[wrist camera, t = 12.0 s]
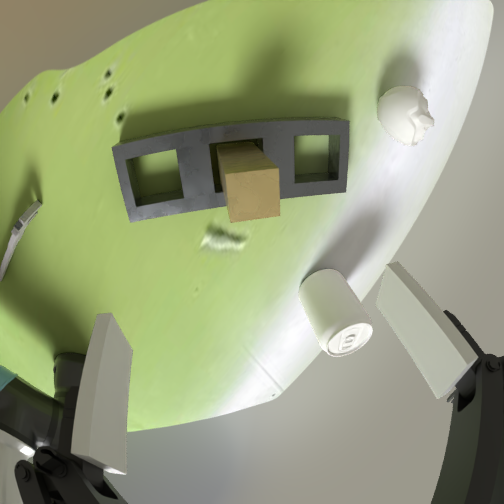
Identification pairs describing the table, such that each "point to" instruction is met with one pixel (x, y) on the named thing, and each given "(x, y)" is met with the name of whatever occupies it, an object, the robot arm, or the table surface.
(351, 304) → the beverage can
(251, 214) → the wooden peg
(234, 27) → the table surface
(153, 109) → the table surface
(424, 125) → the white rounded lump
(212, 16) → the table surface
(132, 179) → the grey slotted holder
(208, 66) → the table surface
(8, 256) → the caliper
